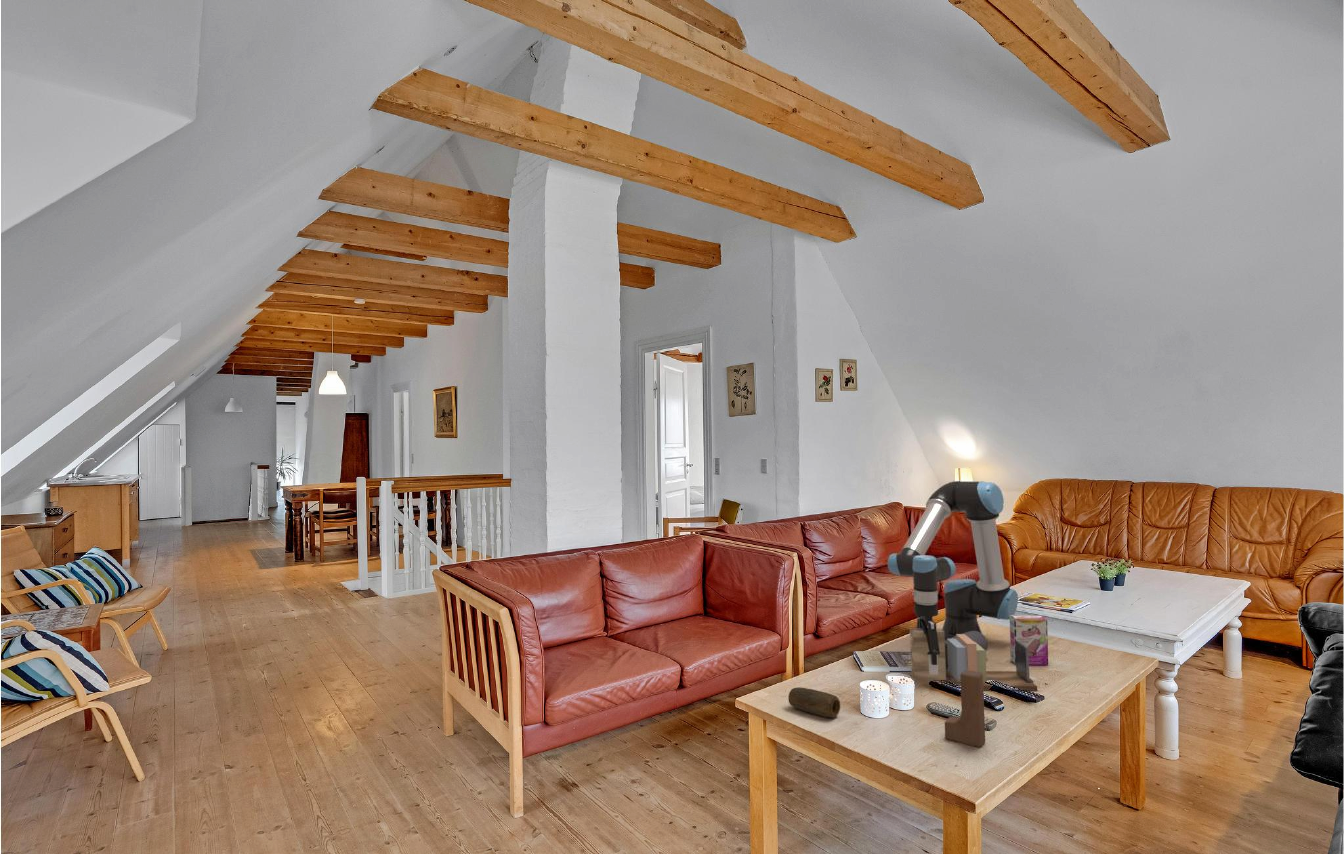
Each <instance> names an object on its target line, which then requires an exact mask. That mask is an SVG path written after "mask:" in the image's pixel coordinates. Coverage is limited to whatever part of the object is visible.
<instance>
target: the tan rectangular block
mask: <svg viewBox="0 0 1344 854" xmlns="http://www.w3.org/2000/svg"><path fill="white" fill-rule="evenodd" d="M936 629H937V636H938V643H939V650H940V654H938V675H932V674H929V656H928V654H927V653H928V652H929V648H928V643H927V638H926V635H925V634H924V631H923V628H917V627H909V641H910V642H909V643H910V644H909V645H910V647H909V648H910V673H911V674H912V676H911V677H912V678H913V680H914V679H915V680H914V681H932V680H946V681H947V678H946V671H947V667H946V664H945V641H946V640H945V636H944V631H943V630H942V628H941V627H936Z"/></svg>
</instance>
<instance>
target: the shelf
mask: <svg viewBox="0 0 1344 854" xmlns="http://www.w3.org/2000/svg"><path fill="white" fill-rule="evenodd" d="M986 678H987V680H995V681H997V682H1001V683H1003V684H1007V685H1009V686H1013V687H1015V688H1020V689H1022V690H1027V691H1026V692H1037V691H1038V685H1036V684H1035V683H1027V682H1025V681H1024V680H1023V679H1022V678H1020V677H1019V676H1018V675H1017V674H1016V670H1015V671H1013V670H1011V671H1010V670H986ZM946 680H948V681H949V680H950V681H951V682H953V683H954V684H956V685H958V686H961V682H957V681H956V679H955V678H954V677H953V676H952V675H951V674H950V673H949V672H948V670H946ZM950 681H949V682H950ZM951 682H950V683H951ZM992 686H993V685H990V684H987V683H985V682H983V691H988V690H989V689H990V688H991V687H992Z"/></svg>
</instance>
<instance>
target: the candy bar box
mask: <svg viewBox="0 0 1344 854" xmlns="http://www.w3.org/2000/svg"><path fill="white" fill-rule="evenodd" d="M1009 637H1010V638H1009V642H1010V643H1009V645H1010V647H1009V651H1010V662H1011V663H1012V664H1014V665H1015V666H1016V649H1015V641H1019V642H1020V643H1022V644H1023V645H1025V646H1026V647H1028V655H1029V666H1049V642H1048V639H1049V637H1048V619H1047V618H1046V617H1044V616H1042V615H1019V614H1018V615H1015V614H1014V615H1010V619H1009Z"/></svg>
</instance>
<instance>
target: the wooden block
mask: <svg viewBox="0 0 1344 854" xmlns="http://www.w3.org/2000/svg"><path fill="white" fill-rule="evenodd" d="M960 679H961V690H960V697H961V698H960V701H961V702H960V704H961V706H960V707H961V713H960V716H959V717H957V716H949V717H948V718H947V719H946V720H945V721H944V738H945V739H946V740H950V741H953V742H957V743H961V744H965V745H968V746H969V745H970V746H972V747H976V748H977V747H978V748H982V746H983V745H984V744H985V742H986V728H985V727H986V723H985V702H984V700H985V699H984V690H983V674H982V673H981V672H975V671H970V670H965V671H963V672H962V673H961V674H960Z"/></svg>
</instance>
